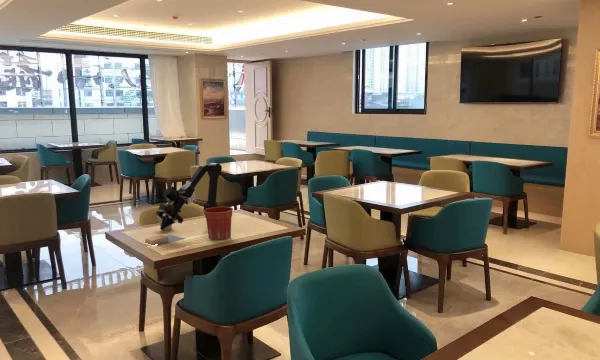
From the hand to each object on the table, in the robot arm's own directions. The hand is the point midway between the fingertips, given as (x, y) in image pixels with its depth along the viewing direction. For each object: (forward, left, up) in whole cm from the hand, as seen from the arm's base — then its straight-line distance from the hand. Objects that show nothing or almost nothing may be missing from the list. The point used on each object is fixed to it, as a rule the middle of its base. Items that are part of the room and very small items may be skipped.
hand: (161, 229), depth 271 cm
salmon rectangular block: (-1, -1, -5) cm, 5 cm away
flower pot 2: (-31, -5, -7) cm, 33 cm away
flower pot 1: (+4, -28, -7) cm, 29 cm away
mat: (0, 0, -7) cm, 7 cm away
